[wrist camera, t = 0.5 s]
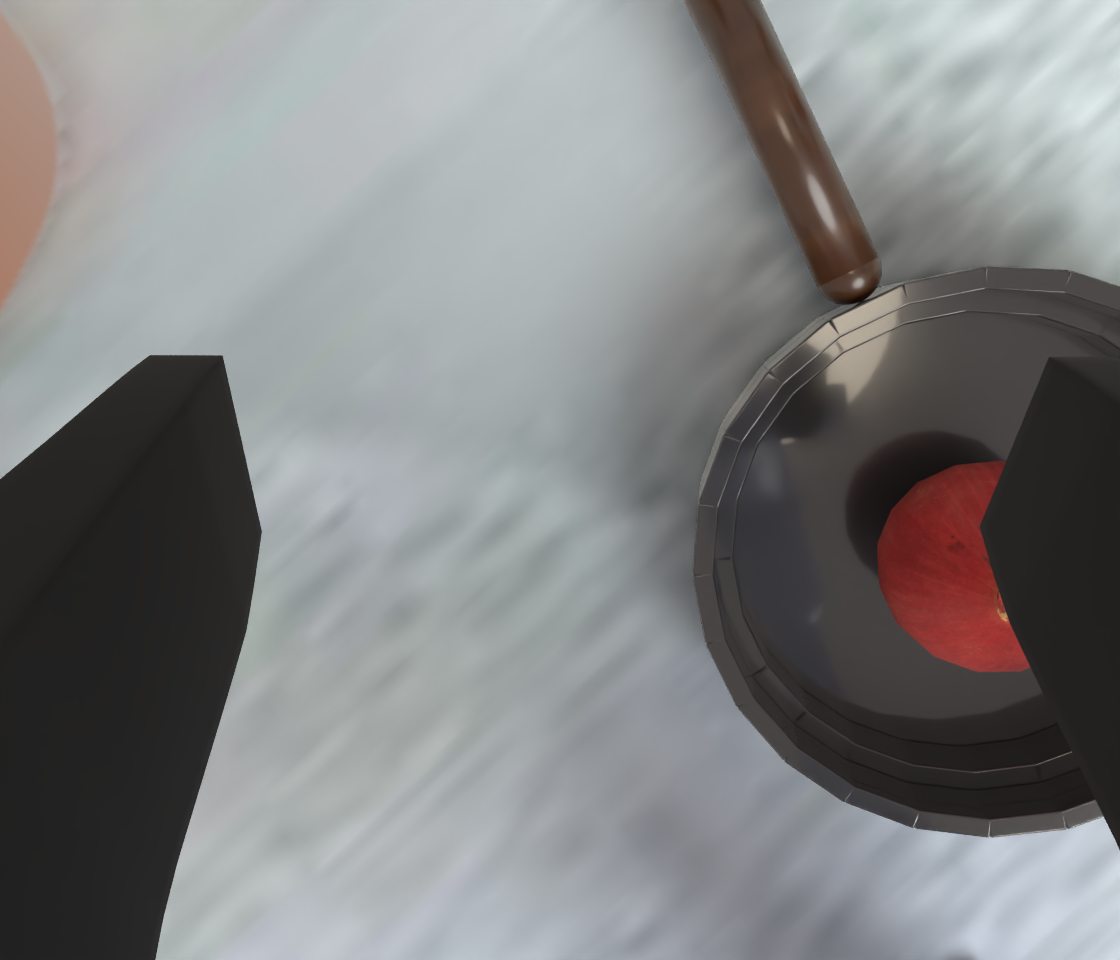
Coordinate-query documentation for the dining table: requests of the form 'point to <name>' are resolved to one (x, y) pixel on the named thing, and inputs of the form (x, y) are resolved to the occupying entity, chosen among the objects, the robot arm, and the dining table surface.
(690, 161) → the dining table surface
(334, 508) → the dining table surface
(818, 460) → the pan
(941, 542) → the onion
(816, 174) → the pan handle
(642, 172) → the dining table surface
